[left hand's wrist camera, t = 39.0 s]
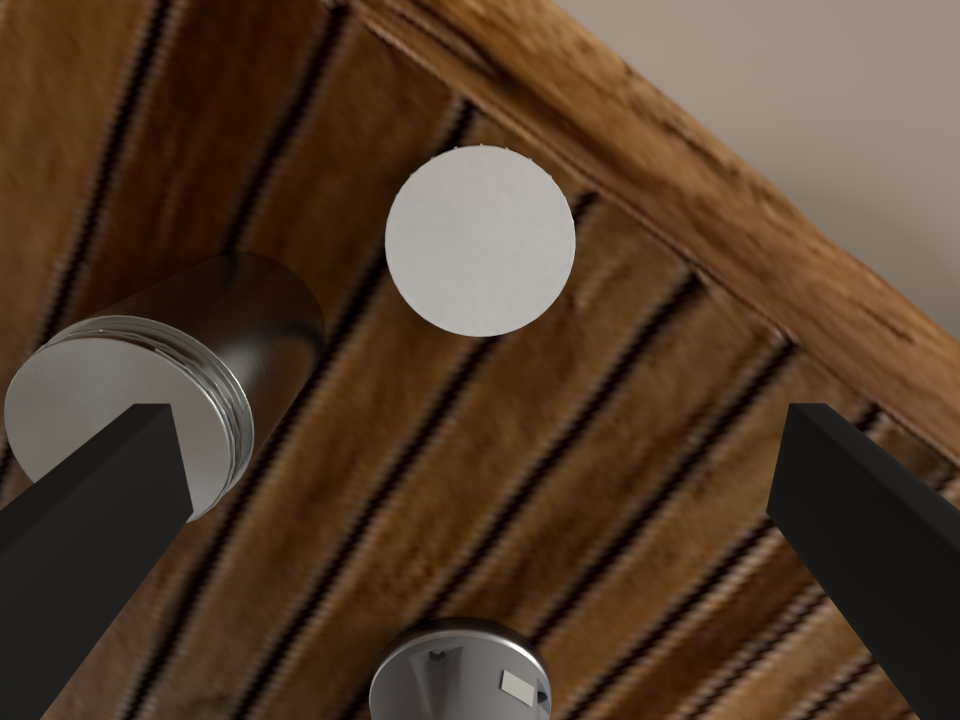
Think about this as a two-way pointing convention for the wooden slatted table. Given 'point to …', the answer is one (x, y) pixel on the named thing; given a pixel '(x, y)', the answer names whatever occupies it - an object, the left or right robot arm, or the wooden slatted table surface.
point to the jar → (176, 370)
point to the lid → (480, 240)
